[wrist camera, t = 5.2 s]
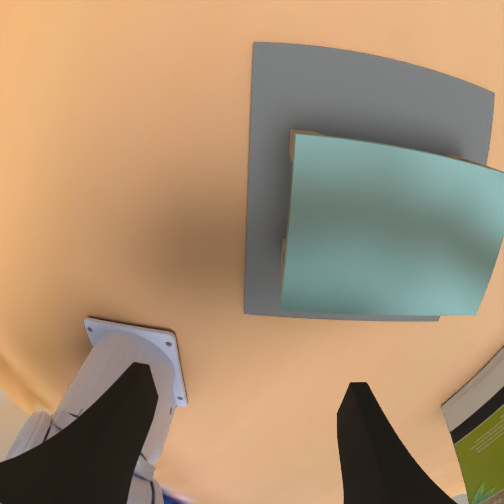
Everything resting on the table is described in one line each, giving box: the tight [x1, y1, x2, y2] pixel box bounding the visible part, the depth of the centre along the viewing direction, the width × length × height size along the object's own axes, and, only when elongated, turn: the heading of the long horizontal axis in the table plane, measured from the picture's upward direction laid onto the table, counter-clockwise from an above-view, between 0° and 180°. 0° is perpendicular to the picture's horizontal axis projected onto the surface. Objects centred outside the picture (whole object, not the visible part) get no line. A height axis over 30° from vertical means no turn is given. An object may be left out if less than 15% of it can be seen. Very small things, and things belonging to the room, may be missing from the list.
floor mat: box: [244, 42, 495, 321], centre depth 16 cm, size 16×14×1 cm
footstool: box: [281, 130, 504, 316], centre depth 13 cm, size 7×10×5 cm
